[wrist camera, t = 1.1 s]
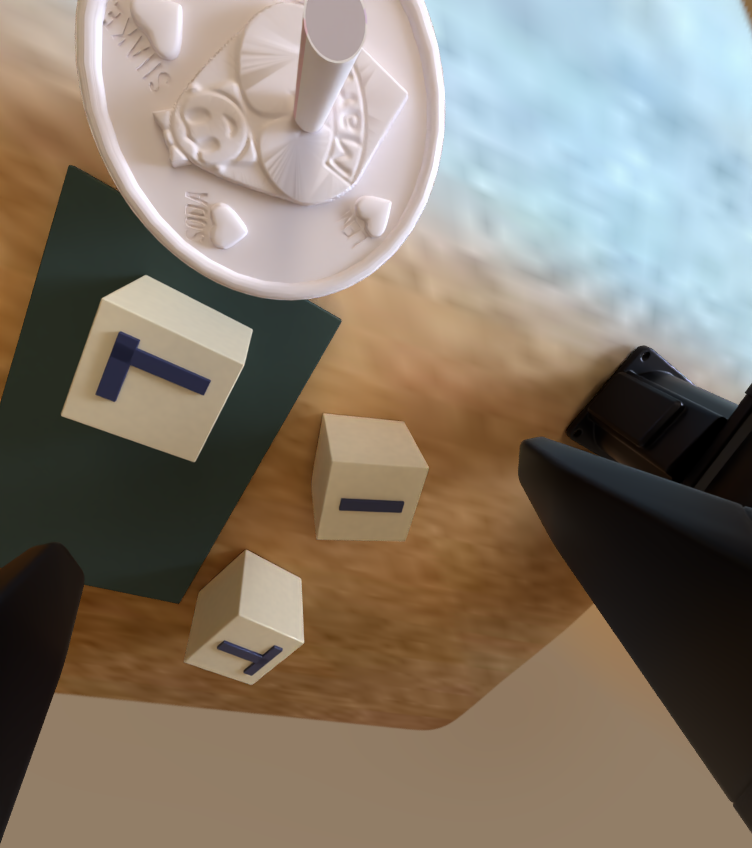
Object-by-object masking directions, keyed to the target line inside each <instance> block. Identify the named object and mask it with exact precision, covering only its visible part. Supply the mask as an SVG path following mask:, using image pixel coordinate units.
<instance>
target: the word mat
mask: <svg viewBox="0 0 752 848" xmlns="http://www.w3.org/2000/svg"><path fill="white" fill-rule="evenodd" d="M144 275H147V276H149V277H151V278H153V279H155V280H157V281H159V282H161V283H163V284H165V285H167V286H169V287H171V288H173V289H175V290H177V291H179V292H181V293H183V294H185V295H187V296H188V297H190V298H192V299H194V300H196V301H198V302H200V303H202V304H204V305H206V306H208V307H210V308H212V309H214V310H216V311H218V312H220V313H222V314H224V315H226V316H228V317H230V318H232V319H234V320H235V321H237V322H239V323H241V324H243V325H245V326H247V327H249V328H251V329H252V330H253V331H252V335H251V340H250V344H249V348H248V352H247V356H246V360H245V364H244V367H243V369H242V371H241V373H240V375H239V377H238V379H237V381H236V383H235V385H234V387H233V389H232V391H231V393H230V394H229V396H228V398H227V400H226V402H225V404H224V406H223V408H222V410H221V412H220V414H219V416H218V418H217V420H216V422H215V424H214V426H213V428H212V430H211V432H210V434H209V436H208V438H207V440H206V442H205V444H204V446H203V448H202V450H201V452H200V454H199V456H198V458H197V459H196V461H195V462H192V461H189V460H186V459H183V458H180V457H177V456H175V455H172V454H169V453H166V452H163V451H160V450H157V449H154V448H152V447H149V446H146V445H143V444H140V443H137V442H134V441H131V440H129V439H126V438H123V437H120V436H117V435H114V434H111V433H108V432H106V431H103V430H100V429H97V428H94V427H91V426H88V425H86V424H83V423H80V422H77V421H74V420H71V419H68V418H65V417H63V416H61V412H62V409H63V407H64V404H65V401H66V398H67V395H68V392H69V389H70V387H71V384H72V381H73V378H74V375H75V372H76V370H77V367H78V364H79V361H80V358H81V355H82V352H83V350H84V347H85V344H86V341H87V338H88V335H89V332H90V330H91V327H92V324H93V321H94V318H95V315H96V313H97V310H98V307H99V304H100V301H101V299H102V298H103V297H105V296H107V295H108V294H110V293H112V292H114V291H116V290H118V289H120V288H122V287H124V286H125V285H127V284H129V283H131V282H133V281H135V280H137V279H139V278H141V277H142V276H144ZM340 323H341V319H340V318H338V317H336V316H334V315H333V314H331V313H329V312H328V311H326V310H324V309H322V308H321V307H319V306H317V305H315V304H314V303H312V302H310V301H308V300H307V299H304V300H275V299H267V298H261V297H256V296H252V295H248V294H245V293H241V292H238V291H235V290H232V289H230V288H228V287H225V286H223V285H221V284H218V283H216V282H214V281H213V280H211V279H209V278H207V277H205V276H203V275H202V274H200V273H198V272H197V271H195V270H194V269H192V268H191V267H189V266H188V265H186V264H185V263H184V262H183V261H181V260H180V259H179V258H177V257H176V256H175V255H173V254H172V253H171V252H170V251H169V250H168V249H167V248H166V247H165V246H163V245H162V244H161V243H160V242H159V241H158V240H157V239H156V238H155V237H154V236H153V234H152V233H151V232H150V231H149V230H148V229H147V228H146V227H145V226H144V225H143V223H142V222H141V221H140V220H139V218H138V217H137V216H136V215H135V213H134V212H133V211H132V209H131V208H130V206H129V205H128V204H127V202H126V201H125V199H124V198H123V196H122V195H121V193H120V192H119V191H117V190H115V189H114V188H112V187H110V186H109V185H107V184H105V183H103V182H102V181H100V180H98V179H96V178H95V177H93V176H91V175H89V174H88V173H86V172H84V171H82V170H81V169H79V168H77V167H76V166H72V165H69V167H68V170H67V174H66V177H65V181H64V184H63V188H62V191H61V194H60V198H59V201H58V205H57V208H56V212H55V215H54V219H53V222H52V226H51V229H50V233H49V236H48V240H47V243H46V247H45V250H44V253H43V257H42V260H41V264H40V267H39V271H38V274H37V278H36V281H35V285H34V288H33V292H32V295H31V299H30V302H29V306H28V309H27V312H26V316H25V319H24V323H23V326H22V330H21V333H20V337H19V340H18V344H17V347H16V351H15V354H14V358H13V361H12V365H11V368H10V371H9V375H8V378H7V382H6V385H5V389H4V392H3V396H2V399H1V403H0V568H2V567H4V566H5V565H7V564H8V563H9V562H11V561H12V560H14V559H15V558H17V557H18V556H19V555H21V554H22V553H24V552H25V551H27V550H28V549H30V548H32V547H34V546H38V545H42V544H47V543H51V542H59V543H61V544H63V545H64V546H65V547H66V548H67V550H68V551H69V552H70V554H71V555H72V557H73V558H74V559H75V561H76V562H77V564H78V565H79V566H80V568H81V569H82V571H83V574H84V585H89V586H94V587H99V588H104V589H109V590H113V591H118V592H123V593H128V594H133V595H138V596H143V597H148V598H153V599H158V600H163V601H168V602H172V603H177V604H179V603H180V601H181V600H182V598H183V596H184V594H185V593H186V591H187V589H188V588H189V586H190V584H191V582H192V581H193V579H194V577H195V575H196V574H197V572H198V570H199V568H200V567H201V565H202V563H203V561H204V560H205V558H206V556H207V555H208V553H209V551H210V549H211V548H212V546H213V544H214V542H215V541H216V539H217V537H218V535H219V534H220V532H221V530H222V528H223V527H224V525H225V523H226V521H227V520H228V518H229V516H230V515H231V513H232V511H233V509H234V508H235V506H236V504H237V502H238V501H239V499H240V497H241V495H242V494H243V492H244V490H245V488H246V487H247V485H248V483H249V482H250V480H251V478H252V476H253V475H254V473H255V471H256V469H257V468H258V466H259V464H260V462H261V461H262V459H263V457H264V455H265V454H266V452H267V450H268V449H269V447H270V445H271V443H272V442H273V440H274V438H275V436H276V435H277V433H278V431H279V429H280V428H281V426H282V424H283V422H284V421H285V419H286V417H287V416H288V414H289V412H290V410H291V409H292V407H293V405H294V403H295V402H296V400H297V398H298V396H299V395H300V393H301V391H302V389H303V388H304V386H305V384H306V383H307V381H308V379H309V377H310V376H311V374H312V372H313V370H314V369H315V367H316V365H317V363H318V362H319V360H320V358H321V356H322V355H323V353H324V351H325V349H326V348H327V346H328V344H329V343H330V341H331V339H332V337H333V336H334V334H335V332H336V330H337V329H338V327H339V325H340Z"/></svg>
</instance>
